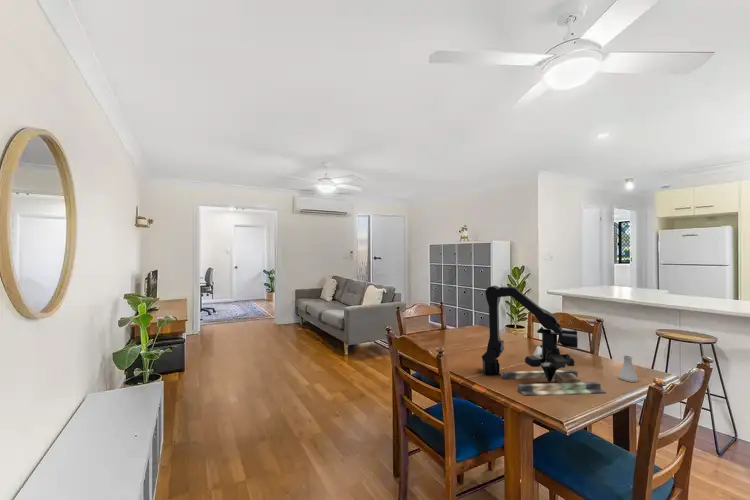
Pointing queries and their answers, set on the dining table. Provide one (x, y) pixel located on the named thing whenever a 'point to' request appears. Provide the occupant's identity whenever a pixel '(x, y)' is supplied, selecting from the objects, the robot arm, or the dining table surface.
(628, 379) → the flask
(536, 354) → the die
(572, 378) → the walnut block
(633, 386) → the dining table surface
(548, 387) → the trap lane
